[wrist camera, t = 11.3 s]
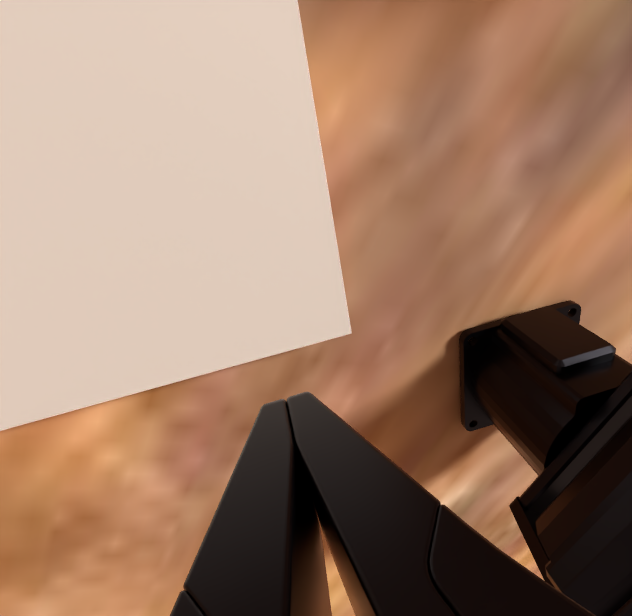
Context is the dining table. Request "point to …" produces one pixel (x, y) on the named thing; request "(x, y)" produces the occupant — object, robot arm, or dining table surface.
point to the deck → (156, 197)
